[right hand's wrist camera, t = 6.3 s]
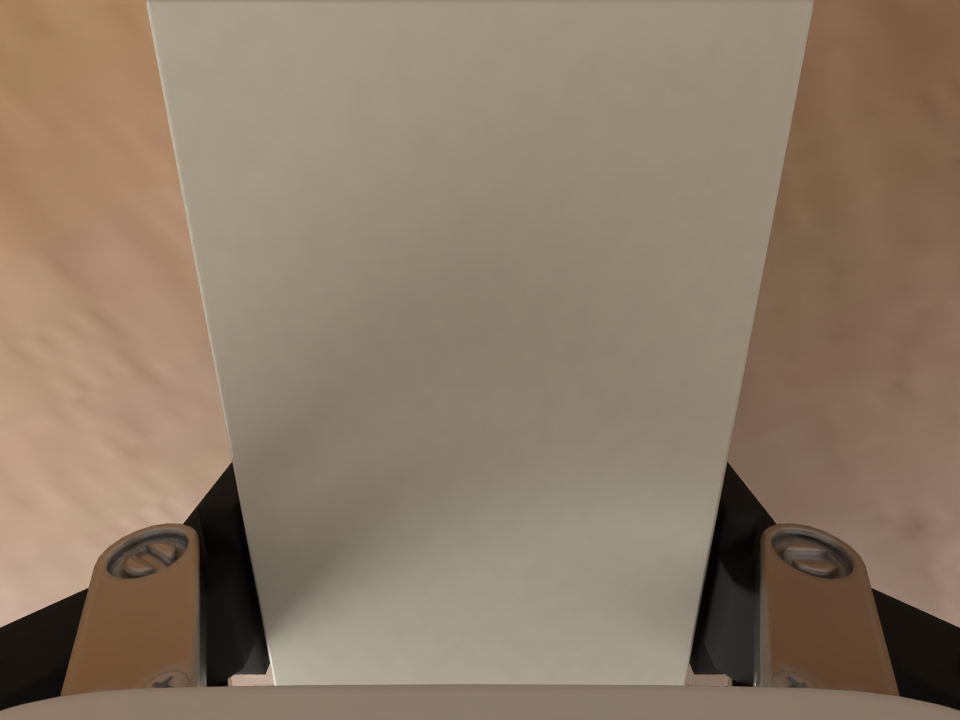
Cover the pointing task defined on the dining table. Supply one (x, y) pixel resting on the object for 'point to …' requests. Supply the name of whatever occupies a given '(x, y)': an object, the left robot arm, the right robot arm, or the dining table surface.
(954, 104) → the dining table surface
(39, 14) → the dining table surface
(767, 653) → the right robot arm
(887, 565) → the dining table surface
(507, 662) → the bar
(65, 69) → the dining table surface
